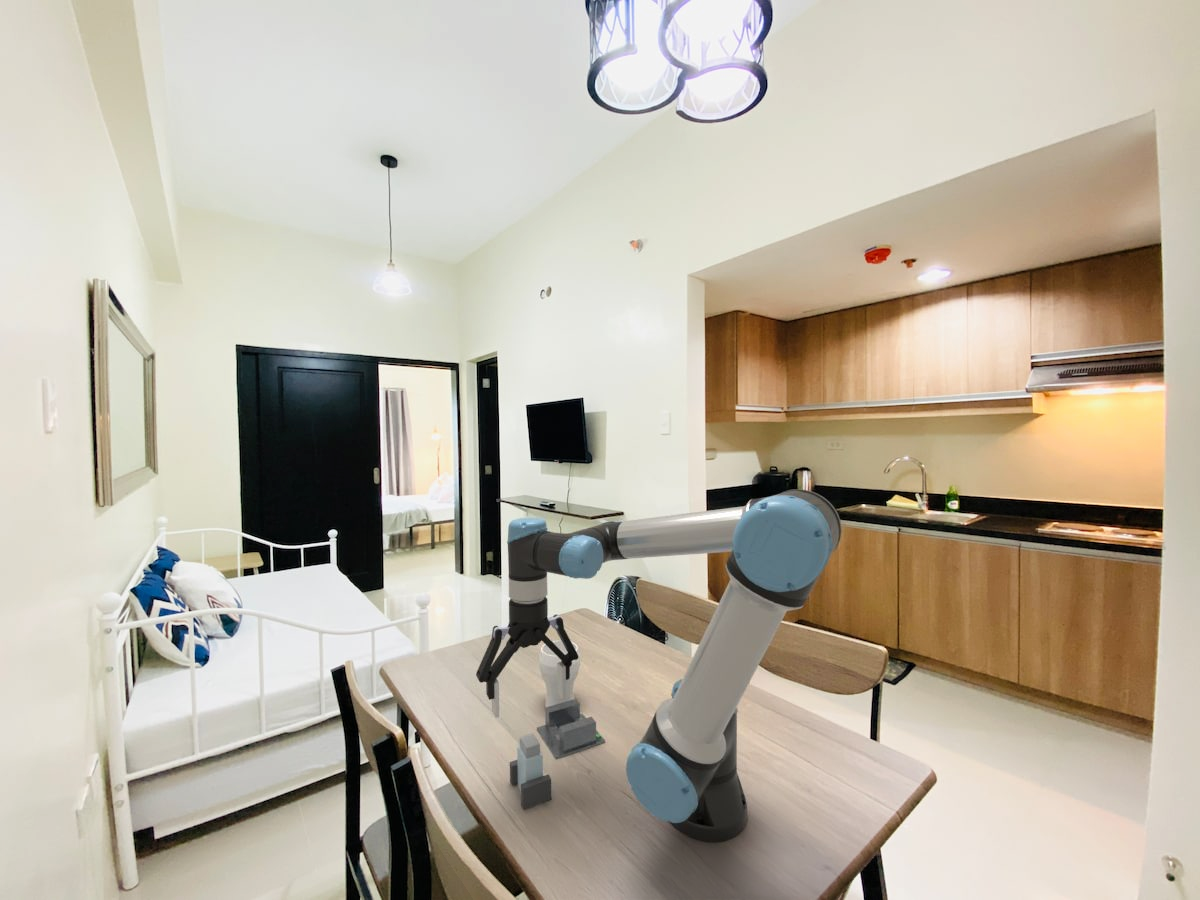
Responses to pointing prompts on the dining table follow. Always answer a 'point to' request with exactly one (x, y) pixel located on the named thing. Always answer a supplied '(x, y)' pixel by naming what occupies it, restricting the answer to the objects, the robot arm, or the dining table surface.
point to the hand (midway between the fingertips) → (529, 704)
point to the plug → (529, 759)
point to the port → (568, 729)
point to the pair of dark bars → (531, 788)
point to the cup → (550, 673)
